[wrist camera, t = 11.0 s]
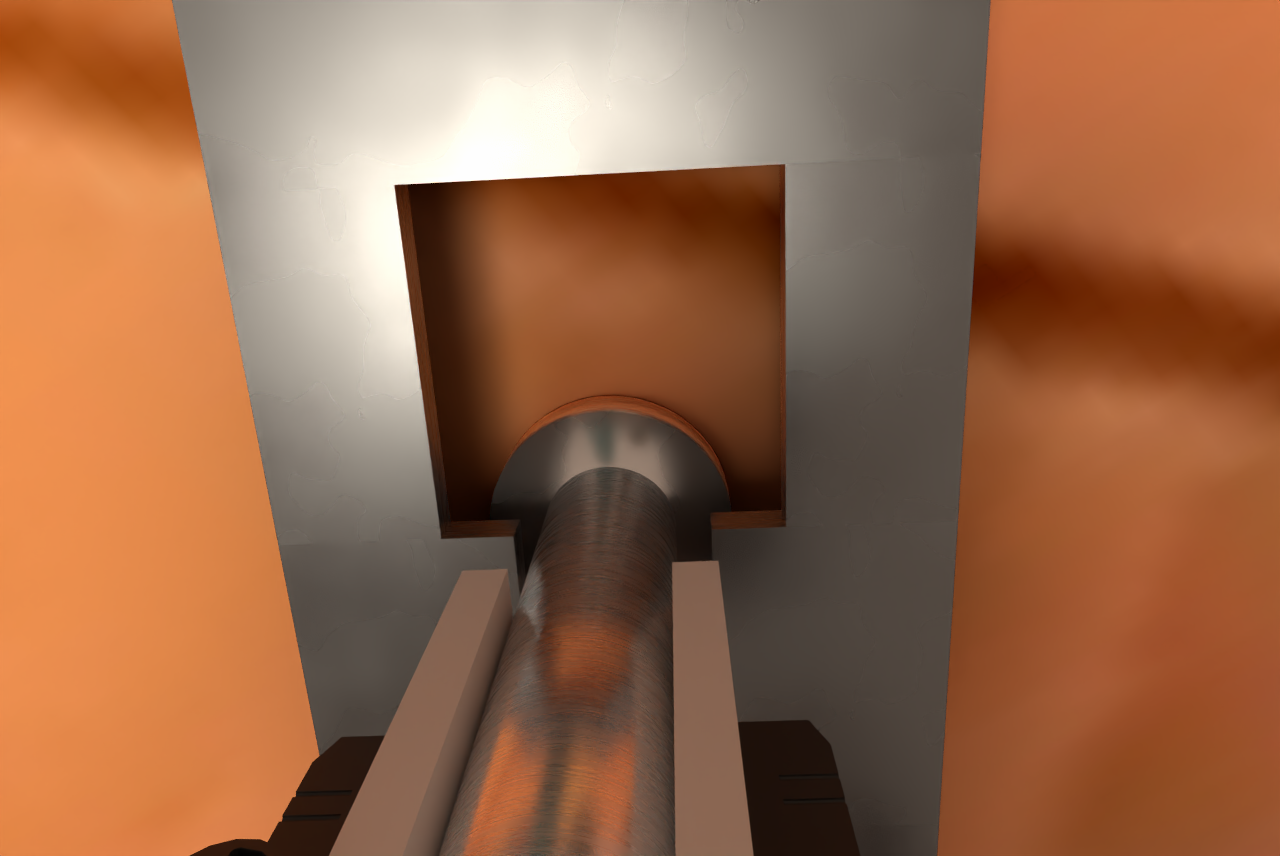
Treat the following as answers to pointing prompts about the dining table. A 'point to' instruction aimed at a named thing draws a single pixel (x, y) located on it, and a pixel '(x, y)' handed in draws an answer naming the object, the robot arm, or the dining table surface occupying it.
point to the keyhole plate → (599, 144)
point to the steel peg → (590, 636)
